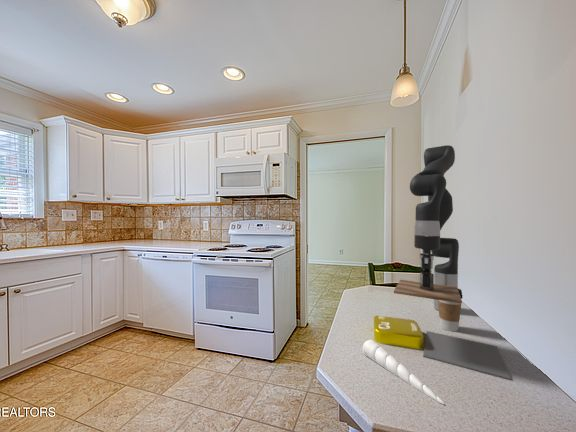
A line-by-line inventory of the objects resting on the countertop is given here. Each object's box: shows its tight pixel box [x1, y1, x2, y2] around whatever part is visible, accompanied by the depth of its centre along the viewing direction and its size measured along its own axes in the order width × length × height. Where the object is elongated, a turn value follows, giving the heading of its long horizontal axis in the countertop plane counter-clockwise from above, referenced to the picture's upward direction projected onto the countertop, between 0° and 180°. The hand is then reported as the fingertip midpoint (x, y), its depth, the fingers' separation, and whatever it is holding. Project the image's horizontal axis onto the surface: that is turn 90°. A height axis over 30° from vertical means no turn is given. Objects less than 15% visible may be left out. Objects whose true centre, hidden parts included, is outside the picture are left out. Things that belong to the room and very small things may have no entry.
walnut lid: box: [393, 271, 463, 304], centre depth 84 cm, size 18×18×6 cm
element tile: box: [373, 315, 424, 350], centre depth 88 cm, size 15×15×5 cm
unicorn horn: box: [362, 339, 445, 405], centre depth 66 cm, size 5×24×5 cm, turn 22°
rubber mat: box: [422, 330, 512, 381], centre depth 78 cm, size 20×20×1 cm
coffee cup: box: [438, 288, 463, 332], centre depth 96 cm, size 8×8×15 cm
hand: (426, 285), depth 84 cm, fingers closed on walnut lid, 4 cm apart
